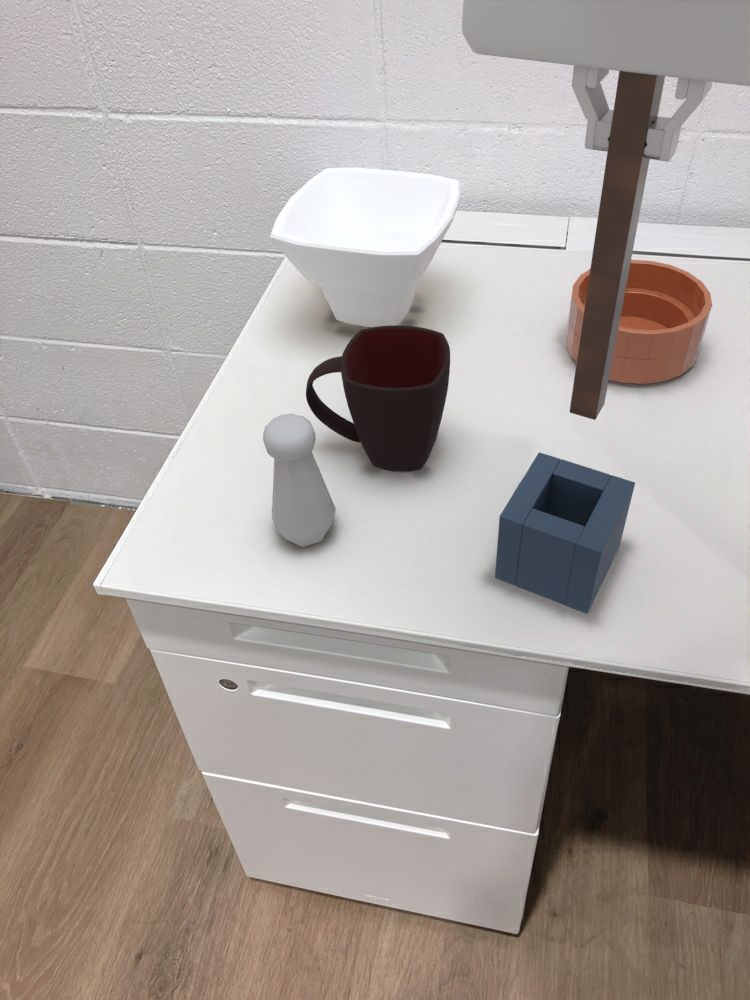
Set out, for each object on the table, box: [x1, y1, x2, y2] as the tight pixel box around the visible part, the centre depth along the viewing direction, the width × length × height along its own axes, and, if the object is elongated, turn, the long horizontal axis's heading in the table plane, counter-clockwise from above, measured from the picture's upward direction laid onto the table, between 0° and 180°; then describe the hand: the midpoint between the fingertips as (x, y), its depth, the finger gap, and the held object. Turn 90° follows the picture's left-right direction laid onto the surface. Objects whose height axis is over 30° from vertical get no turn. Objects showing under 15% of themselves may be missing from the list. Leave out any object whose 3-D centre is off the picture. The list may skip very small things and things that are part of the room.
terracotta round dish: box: [565, 259, 713, 385], centre depth 89 cm, size 14×14×7 cm
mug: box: [305, 324, 451, 473], centre depth 77 cm, size 10×14×12 cm
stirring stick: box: [569, 71, 666, 421], centre depth 51 cm, size 2×2×24 cm
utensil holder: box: [494, 451, 636, 614], centre depth 68 cm, size 8×8×8 cm
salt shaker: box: [262, 413, 336, 548], centre depth 70 cm, size 6×6×13 cm
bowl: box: [269, 166, 461, 328], centre depth 94 cm, size 19×19×14 cm
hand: (629, 151), depth 46 cm, fingers closed on stirring stick, 2 cm apart
